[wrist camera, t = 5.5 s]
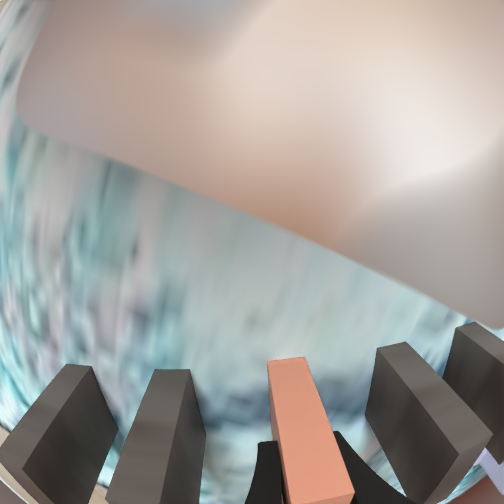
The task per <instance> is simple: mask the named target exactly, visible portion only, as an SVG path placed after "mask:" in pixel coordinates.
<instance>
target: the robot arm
mask: <svg viewBox="0 0 504 504" xmlns="http://www.w3.org/2000/svg"><path fill="white" fill-rule="evenodd" d="M333 434H334V437H335V439H336V442H337V445H338V447H339V450H340V453H341V456H342V458H343V461H344V464H345V467H346V469H347V472H348V475H349V477H350V480H351V483H352V486H353V489H354V491H355V493H354V495H353V498H352V500H351V502H350V504H417V503H415V502H414V501H412V500H410V499H409V498H407V497H406V496H404V495H403V494H401V493H400V492H398V491H397V490H395V489H394V488H393V487H392V486H390V485H389V484H388V483H387V482H385V481H384V480H383V479H382V478H381V477H380V476H378V475H377V474H376V473H375V472H374V471H373V470H372V469H371V468H370V467H369V466H368V465H367V464H366V463H365V462H364V461H363V460H362V459H361V458H360V457H359V456H358V454H357V453H356V452H355V451H354V450H353V449H352V448H351V446H350V445H349V444H348V443H347V441H346V440H345V439H344V437H343V436H342V435H341V433H340V432H339V431H333ZM478 463H479V464H480V465H481V466H482V468H483V469H484V471H485V472H486V473H487V475H488V476H489V477H490V479H491V480H492V482H493V483H494V484H495V486H496V487H497V489H498V490H499V491H500V492H501V494H503V495H504V462H503V463H502V464H500V465H499V464H498V463H497V462H496V460H495V459H494V458H493V457H492V455H491V454H490V453H489V452H488V450H487V449H486V448H484V450H483V451H482V453H481V454H480V456H479V457H478V459H477V460H476V461H475V463H474V464H473V466H475V465H477V464H478ZM245 504H282V488H281V459H280V452H279V447H278V442H277V440H276V441H266V442H260V443H258V453H257V462H256V467H255V472H254V476H253V480H252V483H251V487H250V490H249V493H248V496H247V499H246V501H245Z"/></svg>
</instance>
